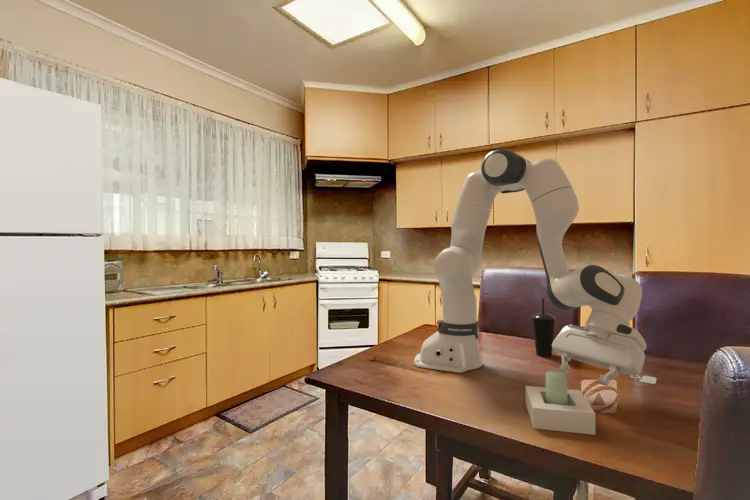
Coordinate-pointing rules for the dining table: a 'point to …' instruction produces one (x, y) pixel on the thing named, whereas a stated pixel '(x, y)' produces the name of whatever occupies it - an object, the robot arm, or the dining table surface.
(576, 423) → the well block
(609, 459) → the dining table surface
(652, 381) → the mounting bracket
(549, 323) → the drinking cup
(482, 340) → the dining table surface
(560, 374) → the green dowel
